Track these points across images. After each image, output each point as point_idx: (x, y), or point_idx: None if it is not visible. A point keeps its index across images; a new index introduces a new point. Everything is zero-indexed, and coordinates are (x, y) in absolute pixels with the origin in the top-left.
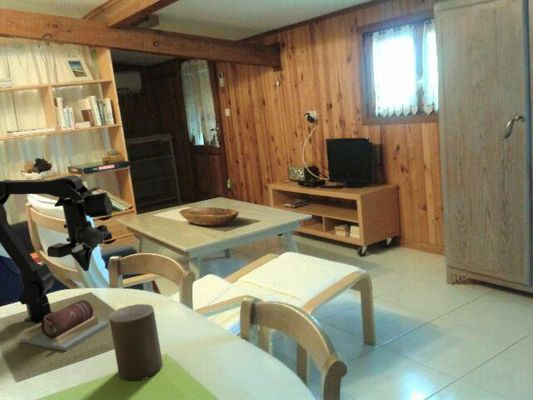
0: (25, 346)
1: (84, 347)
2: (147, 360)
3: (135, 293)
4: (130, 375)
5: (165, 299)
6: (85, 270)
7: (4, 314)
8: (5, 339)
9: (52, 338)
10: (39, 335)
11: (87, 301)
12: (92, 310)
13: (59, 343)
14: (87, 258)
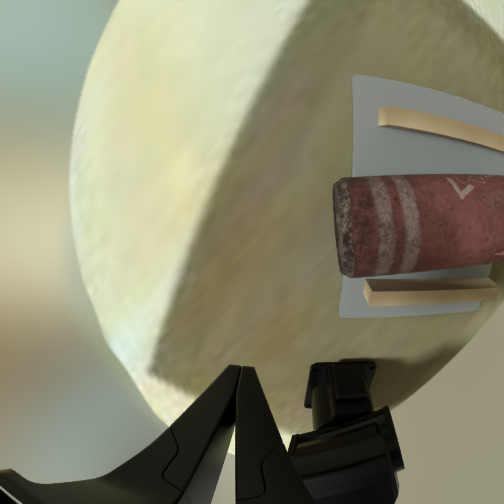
0: (493, 268)
1: (477, 71)
2: None
3: (89, 212)
4: None
5: (101, 51)
6: (256, 375)
7: None
8: (454, 354)
9: None
10: (470, 270)
11: (345, 218)
12: (344, 179)
13: None
14: (207, 449)
